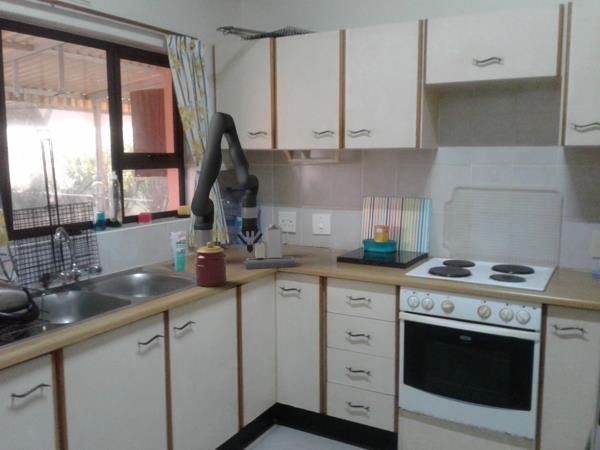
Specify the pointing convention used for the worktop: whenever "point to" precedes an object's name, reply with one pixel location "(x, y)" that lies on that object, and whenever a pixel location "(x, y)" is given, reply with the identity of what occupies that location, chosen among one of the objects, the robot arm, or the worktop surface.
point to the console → (269, 262)
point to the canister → (210, 266)
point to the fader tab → (260, 251)
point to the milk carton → (274, 241)
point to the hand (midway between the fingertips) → (250, 252)
